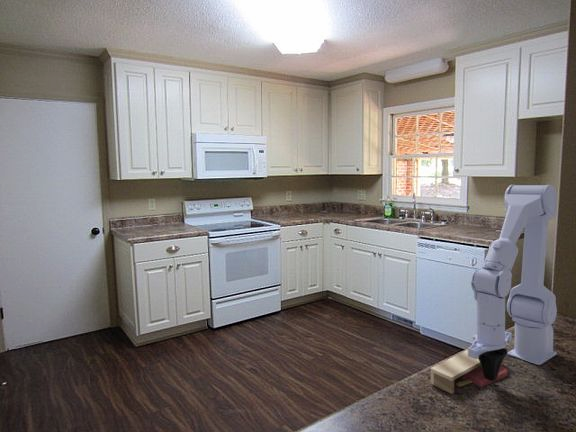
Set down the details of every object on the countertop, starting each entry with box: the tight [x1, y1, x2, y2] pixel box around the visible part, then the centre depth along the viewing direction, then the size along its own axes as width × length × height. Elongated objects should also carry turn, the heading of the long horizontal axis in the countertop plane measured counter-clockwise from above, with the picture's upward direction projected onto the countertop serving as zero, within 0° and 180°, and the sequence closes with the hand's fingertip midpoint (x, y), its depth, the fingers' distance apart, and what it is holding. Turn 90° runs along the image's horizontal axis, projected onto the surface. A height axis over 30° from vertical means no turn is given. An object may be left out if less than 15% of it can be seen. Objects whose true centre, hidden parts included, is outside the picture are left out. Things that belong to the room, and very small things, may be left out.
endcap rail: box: [430, 349, 504, 395], centre depth 98 cm, size 21×6×4 cm, turn 124°
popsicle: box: [455, 365, 509, 388], centre depth 96 cm, size 5×2×15 cm
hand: (490, 378), depth 94 cm, fingers closed, pressing on popsicle
